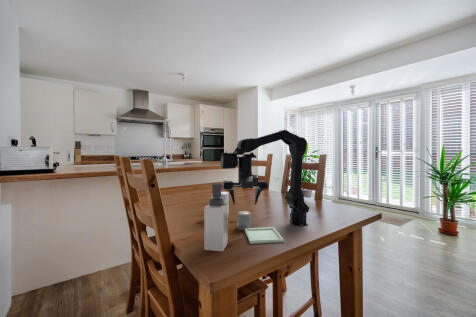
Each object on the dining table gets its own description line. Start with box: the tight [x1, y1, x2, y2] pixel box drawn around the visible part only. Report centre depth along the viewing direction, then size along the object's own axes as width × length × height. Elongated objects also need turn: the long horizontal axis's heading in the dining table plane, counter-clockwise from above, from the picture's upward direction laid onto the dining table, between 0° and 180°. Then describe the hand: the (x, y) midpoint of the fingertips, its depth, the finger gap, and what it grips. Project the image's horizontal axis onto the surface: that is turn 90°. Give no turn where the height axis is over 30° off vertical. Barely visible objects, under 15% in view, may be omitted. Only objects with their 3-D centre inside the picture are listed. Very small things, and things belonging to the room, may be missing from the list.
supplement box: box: [210, 191, 230, 215], centre depth 106 cm, size 7×7×13 cm
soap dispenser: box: [203, 182, 229, 252], centre depth 75 cm, size 6×9×22 cm
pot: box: [236, 210, 252, 231], centre depth 93 cm, size 6×6×7 cm
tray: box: [244, 226, 285, 245], centre depth 84 cm, size 13×13×1 cm
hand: (244, 204), depth 91 cm, fingers open, 9 cm apart
